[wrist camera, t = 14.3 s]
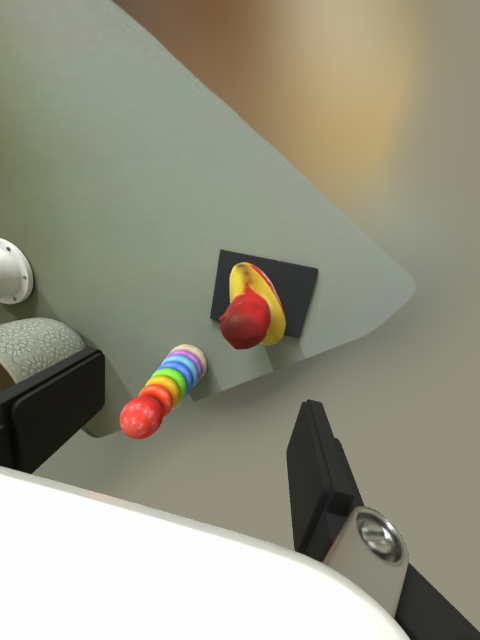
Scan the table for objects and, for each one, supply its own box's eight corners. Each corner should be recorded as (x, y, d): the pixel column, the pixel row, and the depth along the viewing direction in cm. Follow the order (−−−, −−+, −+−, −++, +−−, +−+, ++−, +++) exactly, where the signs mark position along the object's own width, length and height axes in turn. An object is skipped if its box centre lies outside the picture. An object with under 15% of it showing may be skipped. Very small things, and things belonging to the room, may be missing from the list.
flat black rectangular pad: (210, 317, 41) (209, 318, 40) (221, 249, 37) (220, 249, 37) (298, 336, 40) (298, 338, 39) (317, 268, 36) (318, 268, 36)
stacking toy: (216, 361, 43) (177, 436, 26) (192, 386, 46) (141, 471, 28) (184, 334, 43) (121, 392, 25) (162, 362, 45) (90, 432, 27)
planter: (80, 397, 51) (3, 455, 36) (18, 350, 49) (-89, 390, 35) (115, 348, 46) (42, 392, 31) (47, 293, 44) (-63, 312, 30)
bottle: (229, 267, 37) (184, 282, 18) (265, 253, 36) (257, 252, 17) (254, 332, 40) (237, 403, 21) (289, 321, 38) (304, 386, 20)
